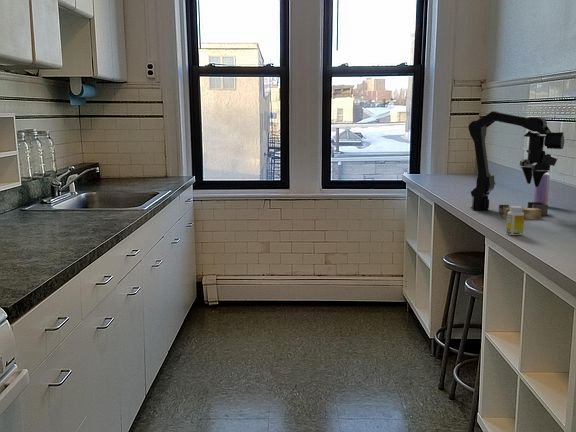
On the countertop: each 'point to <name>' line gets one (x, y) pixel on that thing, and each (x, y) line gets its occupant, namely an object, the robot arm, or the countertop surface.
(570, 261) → the countertop surface
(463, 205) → the countertop surface
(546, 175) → the beverage can
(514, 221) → the supplement bottle
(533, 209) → the rail
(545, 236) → the countertop surface
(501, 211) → the dark grey arch block
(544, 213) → the bracket
